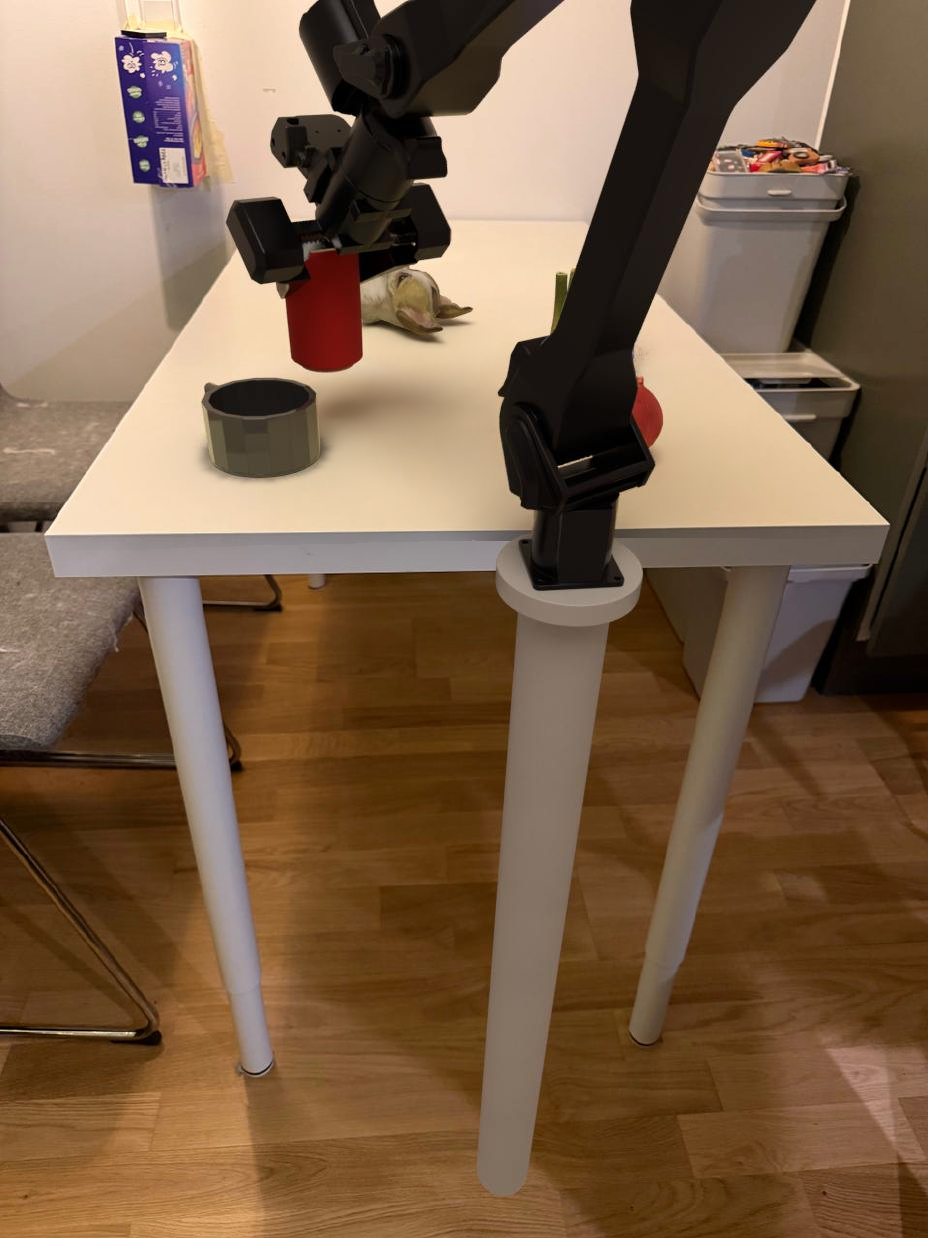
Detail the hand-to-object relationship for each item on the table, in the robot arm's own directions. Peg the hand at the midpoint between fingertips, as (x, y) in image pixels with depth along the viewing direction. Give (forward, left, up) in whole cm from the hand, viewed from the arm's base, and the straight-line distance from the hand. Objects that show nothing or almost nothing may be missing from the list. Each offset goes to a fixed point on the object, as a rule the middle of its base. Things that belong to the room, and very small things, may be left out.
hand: (315, 288), depth 80 cm
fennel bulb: (+45, -24, -9) cm, 52 cm away
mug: (-5, +6, -13) cm, 16 cm away
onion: (-10, -28, -13) cm, 32 cm away
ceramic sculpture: (+32, -11, -13) cm, 36 cm away
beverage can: (-1, -1, -7) cm, 7 cm away
